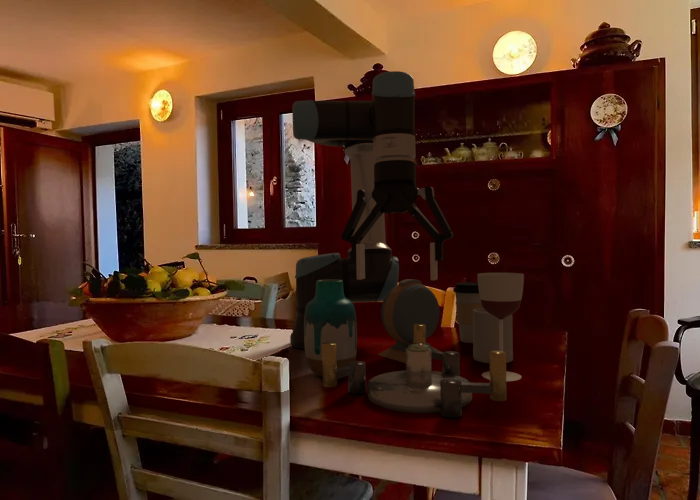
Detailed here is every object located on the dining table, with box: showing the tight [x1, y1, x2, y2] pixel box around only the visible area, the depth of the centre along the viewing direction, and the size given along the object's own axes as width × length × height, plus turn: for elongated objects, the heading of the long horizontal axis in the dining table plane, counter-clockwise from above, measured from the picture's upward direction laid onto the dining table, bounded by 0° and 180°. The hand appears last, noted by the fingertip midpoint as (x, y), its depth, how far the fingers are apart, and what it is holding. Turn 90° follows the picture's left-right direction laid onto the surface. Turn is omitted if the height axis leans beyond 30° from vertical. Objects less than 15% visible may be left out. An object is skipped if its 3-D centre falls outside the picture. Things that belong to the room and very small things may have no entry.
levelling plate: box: [366, 344, 473, 414], centre depth 89 cm, size 18×18×9 cm
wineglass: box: [477, 272, 525, 382], centre depth 100 cm, size 8×9×20 cm
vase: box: [304, 279, 358, 377], centre depth 103 cm, size 11×11×19 cm
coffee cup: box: [452, 281, 483, 344], centre depth 133 cm, size 9×9×15 cm
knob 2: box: [440, 351, 507, 419], centre depth 78 cm, size 10×3×10 cm, turn 79°
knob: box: [322, 342, 367, 395], centre depth 89 cm, size 10×3×10 cm, turn 139°
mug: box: [472, 308, 514, 364], centre depth 115 cm, size 12×8×11 cm
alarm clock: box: [377, 278, 442, 364], centre depth 119 cm, size 14×10×18 cm
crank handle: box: [413, 324, 461, 377], centre depth 99 cm, size 10×3×10 cm, turn 49°
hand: (396, 279), depth 92 cm, fingers open, 13 cm apart
